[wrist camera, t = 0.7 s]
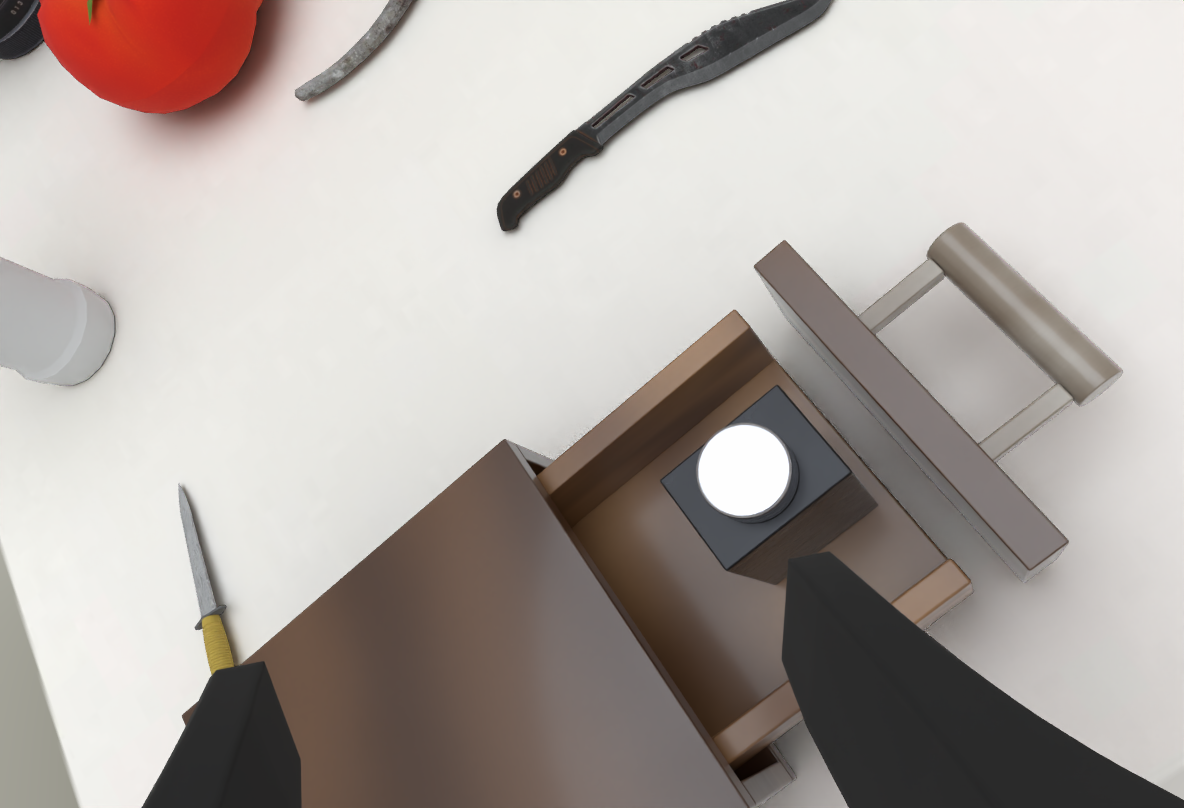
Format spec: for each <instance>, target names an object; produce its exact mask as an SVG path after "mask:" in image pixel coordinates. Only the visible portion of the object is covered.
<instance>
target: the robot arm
mask: <svg viewBox="0 0 1184 808" xmlns="http://www.w3.org/2000/svg"><path fill="white" fill-rule="evenodd" d="M781 660H782V662H783V665H784V668H785V671H786V673H787V676H788V679H789V681H790V684H791V687H792V690H793V692H794V695H795V698H796V700H797V703H798V705H799V708H800V710H801V713H802V716H803V718H804V721H805V723H806V726H807V728H808V730H809V732H810V734H811V736H812V738H813V740H814V742H815V744H816V746H817V747H818V749H819V751H820V753H821V755H822V757H823V759H824V761H825V763H826V765H827V767H828V769H829V771H830V773H831V774H832V776H833V778H834V780H835V782H836V784H837V786H838V788H839V790H840V792H841V794H842V795H843V797H844V799H845V801H846V803H847V805H848V807H849V808H1184V800H1183V799H1181V798H1179V797H1177V796H1175V795H1173V794H1171V793H1170V792H1168V791H1166V790H1164V789H1162V788H1160V787H1158V786H1156V785H1155V784H1153V783H1151V782H1149V781H1147V780H1145V779H1143V778H1142V777H1140V776H1138V775H1136V774H1134V773H1132V772H1130V771H1128V770H1127V769H1125V768H1123V767H1121V766H1119V765H1118V764H1116V763H1114V762H1112V761H1111V760H1109V759H1107V758H1105V757H1104V756H1102V755H1100V754H1099V753H1097V752H1095V751H1093V750H1092V749H1090V748H1088V747H1087V746H1085V745H1084V744H1082V743H1080V742H1079V741H1077V740H1076V739H1074V738H1072V737H1071V736H1069V735H1068V734H1066V733H1064V732H1063V731H1061V730H1060V729H1058V728H1056V727H1055V726H1053V725H1051V724H1050V723H1048V722H1047V721H1045V720H1044V719H1042V718H1041V717H1039V716H1037V715H1036V714H1034V713H1033V712H1032V711H1030V710H1029V709H1027V708H1026V707H1024V706H1023V705H1021V704H1020V703H1018V702H1017V701H1015V700H1014V699H1013V698H1011V697H1010V696H1008V695H1007V694H1006V693H1004V692H1003V691H1002V690H1000V689H999V688H997V687H996V686H995V685H993V684H992V683H990V682H989V681H988V680H986V679H985V678H983V677H982V676H981V675H979V674H978V673H977V672H975V671H974V670H973V669H971V668H970V667H969V666H967V665H966V664H965V663H964V662H962V661H961V660H960V659H958V658H957V657H956V656H955V655H953V654H952V653H951V652H949V651H948V650H947V649H946V648H944V647H943V646H942V645H941V644H939V643H938V642H937V641H936V640H934V639H933V638H932V637H931V636H929V635H928V634H927V633H925V632H924V631H923V630H922V629H921V628H919V627H918V626H917V625H916V624H914V623H913V622H912V621H911V620H910V619H908V618H907V617H906V616H905V615H904V614H902V613H901V612H900V611H899V610H898V609H896V608H895V607H894V606H893V605H892V604H891V603H889V602H888V601H887V600H886V599H885V598H883V597H882V596H881V595H880V594H879V593H878V592H877V591H875V590H874V589H873V588H872V587H871V586H870V585H868V584H867V583H866V582H865V581H864V580H863V579H861V578H860V577H859V576H858V575H857V574H856V573H855V572H853V571H852V570H851V569H850V568H849V567H848V566H847V565H845V564H844V563H843V562H842V561H841V560H840V559H838V558H837V557H836V556H835V555H833V554H832V553H831V552H830V551H828V552H823V553H817V554H812V555H807V556H802V557H797V558H792V559H788V569H787V584H786V599H785V614H784V629H783V644H782V659H781ZM142 808H302V798H301V759H300V756H299V753H298V751H297V748H296V745H295V743H294V740H293V737H292V734H291V732H290V729H289V726H288V724H287V721H286V718H285V716H284V713H283V710H282V708H281V705H280V702H279V699H278V697H277V694H276V691H275V689H274V686H273V683H272V681H271V678H270V675H269V673H268V670H267V667H266V664H265V662H264V661H261V662H256V663H250V664H245V665H240V666H235V667H230V668H225V669H219V670H216V671H215V672H214V673H213V675H212V676H211V677H210V678H209V681H208V683H207V685H206V687H205V689H204V691H203V693H202V695H201V697H200V699H199V701H198V703H197V705H196V707H195V709H194V711H193V713H192V715H191V717H190V719H189V721H188V723H187V725H186V727H185V729H184V731H183V733H182V735H181V737H180V739H179V741H178V743H177V744H176V746H175V748H174V750H173V752H172V754H171V756H170V758H169V760H168V761H167V763H166V765H165V767H164V769H163V771H162V773H161V774H160V776H159V778H158V780H157V781H156V783H155V785H154V787H153V789H152V790H151V792H150V794H149V796H148V797H147V799H146V801H145V803H144V804H143V806H142Z"/></svg>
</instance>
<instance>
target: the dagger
mask: <svg viewBox="0 0 1184 808" xmlns="http://www.w3.org/2000/svg"><path fill="white" fill-rule="evenodd" d="M179 504H180V512H181V518H182V523H183V528H184V533H185V538H186V543H187V548H188V552H189V557H190V562H191V567H192V572H193V577H194V582H195V587H196V592H197V597H198V602H199V607H200V612H201V617H202V618H201V620H200V621H199V622H198V623H197V625H196V626H195V629H196V630H200V629H203V635H204V641H205V642H204V643H205V649H206V652H207V658H208V663H209V666H210V671H211V675H213V673H214V672H215V671H216V670H219V669H225V668H230V667H234V663H233V658H232V654H231V650H230V646H229V643H228V639H227V636H226V633H225V630H224V627H223V625H222V621H221V618H220V615H221V614H222V613H223V611H224V610H225V609H226V605H220V606H218V607H217V606H216V602H215V599H214V595H213V591H212V588H211V584H210V580H209V577H208V573H207V569H206V565H205V562H204V558H203V554H202V551H201V547H200V543H199V540H198V536H197V532H196V528H195V525H194V521H193V517H192V514H191V510H190V506H189V504H188V501H187V498H186V496H185V494H184V492H183V489H182V488H181V486H180V484H179Z"/></svg>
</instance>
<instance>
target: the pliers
mask: <svg viewBox="0 0 1184 808" xmlns="http://www.w3.org/2000/svg"><path fill="white" fill-rule="evenodd" d="M411 1H412V0H389V2H388V4H387V5H386V7H385V9H384V10H383V12H382V13H381V15H380V16H379V17H378V19H377V20H376V21H375V23H374V24H373V25H372V27H371V28H370V29H369V31H368V32H367V33H366V34H365V35H364V36H363V37H362V38H361V39H360V40H359V41H358V42H357V43H356V44H355V45H354V46H353V47H352V48H351V49H350V50H349V51H348V52H347V53H346V54H345V55H344V56H343V57H342V58H341V59H340V60H339V61H337V62H336V63H335V64H333V65H332V66H331V67H329V68H328V69H327V70H325V71H324V72H323V73H321V74H320V75H318V76H316V77H315V78H313V79H312V80H310V81H308V82H307V83H305V84H304V85H302V86H301V87H299V88H298V89H296V90H295V96H296V97H297V98H298V99H299V100H301V101H306V100H308V99H310V98H312V97H314V96H316V95H318V94H320V93H321V92H323V91H324V90H326V89H328V88H329V87H331V86H333V85H334V84H335V83H337V82H338V81H339V80H341V79H342V78H343V77H345V76H346V75H347V74H349V73H350V72H351V71H352V70H353V69H355V68H356V67H357V66H358V65H359V64H360V63H361V62H363V61H364V60H365V59H366V58H367V57H368V56H369V55H370V54H371V53H372V52H373V51H374V50H375V49H376V48H377V47H378V46H379V45H380V44H381V43H382V42H383V41H384V39H385V38H386V37H387V36H388V34H389V33H390V32H391V31H392V30H393V28H394V27H395V26H396V25H397V23H398V22H399V20H400V19H401V17H402V16H403V14H404V13H405V11H406V10H407V8H408V7H409V5H410V3H411Z"/></svg>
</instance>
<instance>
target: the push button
mask: <svg viewBox="0 0 1184 808" xmlns="http://www.w3.org/2000/svg"><path fill="white" fill-rule="evenodd" d="M660 483H661V484H662V485H663V487H664V488H665V489H666V491H667V492H668V494H669V495H670V496H671V498H672V499H673V500H674V502H675V503H676V504H677V506H678V507H679V508H680V510H681V511H682V513H683V514H684V515H685V517H686V518H687V519H688V521H689V522H690V523H691V525H692V526H693V527H694V529H695V530H696V531H697V533H698V534H699V536H700V537H701V538H702V540H703V541H704V542H705V544H706V545H707V546H708V548H709V549H710V550H711V552H712V553H713V555H714V556H715V557H716V559H717V560H718V561H719V563H720V564H721V565H722V567H723V568H724V569H725V570H726V571H728V572H731V573H735V574H738V575H742V576H745V577H749V578H752V579H755V580H759V581H762V582H766V583H769V584H773V585H777V584H778V583H779V582H781V581H782V580H783V579H785V578H786V577H787V569H788V559H792V558H797V557H802V556H807V555H812V554H817V553H818V552H819V551H821V550H822V549H823V548H824V547H826V546H827V545H828V544H830V543H831V542H832V541H833V540H835V539H836V538H837V537H839V536H840V535H841V534H842V533H844V532H845V531H846V530H848V529H849V528H850V527H851V526H853V525H854V524H855V523H857V522H858V521H859V520H860V519H862V518H863V517H864V516H866V515H867V514H868V513H869V512H871V511H872V510H873V509H875V508H876V507H877V506H878V503H877V502H876V501H875V499H874V498H873V497H872V496H871V494H870V493H869V492H868V491H867V489H866V488H865V487H864V486H863V484H862V483H861V482H860V480H859V479H858V478H857V477H856V475H855V474H854V473H853V472H852V470H851V469H850V468H849V467H848V466H847V464H846V463H845V462H844V461H843V460H842V459H841V457H840V456H839V455H838V454H837V453H836V452H835V450H834V449H833V448H832V447H831V446H830V445H829V443H828V442H827V441H826V440H825V439H824V438H823V436H822V435H821V434H820V433H819V432H818V431H817V429H816V428H815V427H814V426H813V425H812V424H811V422H810V421H809V420H808V419H807V418H806V417H805V415H804V414H803V413H802V412H801V411H800V409H799V408H798V407H797V406H796V405H795V404H794V402H793V401H792V400H791V399H790V398H789V397H788V395H787V394H786V393H785V392H784V391H783V390H782V388H781V387H780V386H779V385H775V386H774V387H773V388H772V389H770V390H769V391H768V392H767V393H765V394H764V395H763V396H762V397H761V398H759V399H758V400H757V401H756V402H754V403H753V404H752V405H751V406H750V407H748V408H747V409H746V410H745V411H743V412H742V413H741V414H740V415H739V416H737V417H736V418H735V419H734V420H733V421H731V422H730V423H729V424H728V425H726V426H725V427H724V428H722V429H721V430H719V431H718V432H716V433H715V434H714V435H713V436H712V437H710V438H709V440H708V441H707V442H706V443H704V444H703V445H702V446H701V447H700V448H698V449H697V450H696V451H695V452H693V453H692V454H691V455H690V456H689V457H687V458H686V459H685V460H684V461H683V462H681V463H680V464H679V465H678V466H676V467H675V468H674V469H673V470H672V471H670V472H669V473H668V474H667V475H665V476H664V477H663V478H662V479H661V480H660Z"/></svg>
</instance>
